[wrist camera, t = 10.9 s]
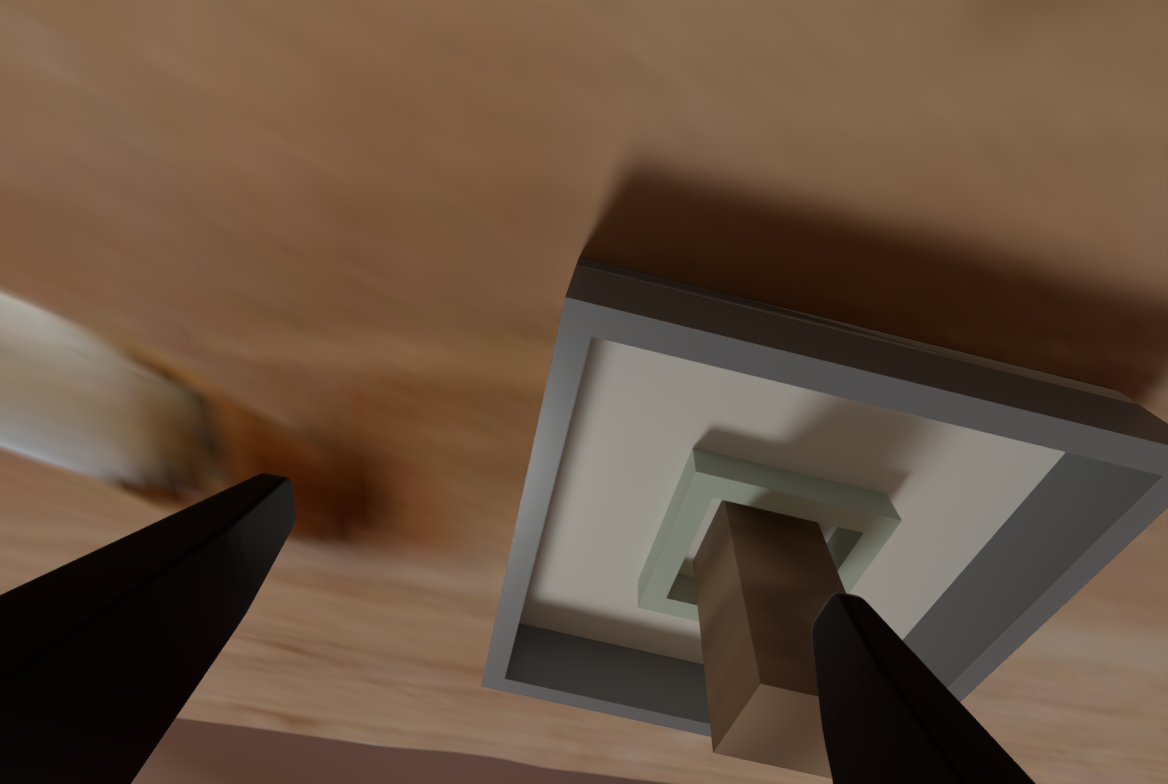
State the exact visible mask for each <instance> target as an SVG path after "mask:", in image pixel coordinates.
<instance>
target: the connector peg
mask: <svg viewBox="0 0 1168 784" xmlns="http://www.w3.org/2000/svg"><path fill="white" fill-rule="evenodd" d="M693 569H694V578H695V588H696V597H697V606H698V616H699V625H700V634H701V644H702V653H703V662H704V672H705V681H706V690H707V700H708V709H709V718H710V728H711V737H712V746H713V753H717V754H722V755H726V756H731V757H735V758H740V759H745V760H749V761H754V762H758V763H763V764H767V765H772V766H777V767H781V768H786V769H790V770H795V771H800V772H804V773H809V774H813V775H818V776H822V777H827V778H832V775H831V771H830V766H829V761H828V757H827V752H826V747H825V742H824V736H823V731H822V723H821V716H820V707H819V698H818V688H817V679H816V670H815V661H814V651H813V642H812V627H813V623H814V621H815V619H816V618H817V616H818V614H819V613H820V611H821V610H822V608H823V607H824V605H825V604H826V602H827V601H828V599H829V598H830V596H831V595H832V594H833V593H835V592H843V593H846V591H845V589H844V586H843V584H842V581H841V579H840V576H839V574H838V571H837V569H836V566H835V564H834V561H833V559H832V556H831V554H830V551H829V549H828V546H827V544H826V541H825V539H824V536H823V534H822V531H821V529H820V526H819V524H818V522H814V521H810V520H806V519H802V518H797V517H793V516H789V515H785V514H780V513H776V512H772V511H768V510H763V509H759V508H755V507H751V506H746V505H742V504H738V503H734V502H729V501H725V500H722V501H721V503H720V505H719V507H718V509H717V511H716V513H715V515H714V518H713V520H712V522H711V524H710V526H709V528H708V530H707V532H706V534H705V536H704V539H703V541H702V543H701V545H700V547H699V549H698V551H697V553H696V555H695V557H694V560H693Z"/></svg>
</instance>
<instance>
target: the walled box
mask: <svg viewBox="0 0 1168 784" xmlns="http://www.w3.org/2000/svg"><path fill="white" fill-rule="evenodd" d="M722 500H725V501H729V502H734V503H738V504H742V505H746V506H751V507H755V508H759V509H763V510H768V511H772V512H776V513H780V514H785V515H789V516H793V517H797V518H802V519H806V520H810V521H814V522H818V524H819V526H820V529H821V531H822V534H823V536H824V539H825V541H826V544H827V546H828V549H829V551H830V554H831V556H832V559H833V561H834V564H835V566H836V569H837V571H838V574H839V576H840V579H841V581H842V584H843V586H844V589H845V591H846V593H848V594H853V595H857V596H860V597H862V598H863V599H864V600H865V601H867V602H868V604H869V605H870V606H871V607H872V608H873V609H874V610H875V611H876V612H877V613H878V614H879V615H880V616H881V618H882V619H883V620H884V621H885V622H886V623H887V624H888V625H889V626H890V627H891V628H892V629H893V631H894V632H895V633H896V634H897V635H898V636H899V637H900V638H901V639H902V640H903V641H904V642H905V643H906V645H907V646H908V647H909V648H910V649H911V650H912V651H913V652H914V653H915V654H916V655H917V656H918V657H919V659H920V660H921V661H922V662H923V663H924V664H925V665H926V666H927V667H928V668H929V669H930V670H931V671H932V673H933V674H934V675H935V676H936V677H937V678H938V679H939V680H940V681H941V682H942V683H943V684H944V685H945V687H946V688H947V689H948V690H949V691H950V692H951V693H952V694H953V695H954V696H955V697H956V698H957V700H958V701H959V702H961V701H962V700H963V699H964V698H965V697H966V696H967V695H968V694H969V693H970V692H971V691H973V690H974V689H975V688H976V687H977V686H978V685H979V684H980V683H981V682H982V681H983V680H984V679H985V678H986V677H987V676H989V675H990V674H991V673H992V672H993V671H994V670H995V669H996V668H997V667H998V666H999V665H1000V664H1001V663H1002V662H1003V661H1005V660H1006V659H1007V658H1008V657H1009V656H1010V655H1011V654H1012V653H1013V652H1014V651H1015V650H1016V649H1017V648H1018V647H1019V646H1021V645H1022V644H1023V643H1024V642H1025V641H1026V640H1027V639H1028V638H1029V637H1030V636H1031V635H1032V634H1033V633H1034V632H1035V631H1036V630H1038V629H1039V628H1040V627H1041V626H1042V625H1043V624H1044V623H1045V622H1046V621H1047V620H1048V619H1049V618H1050V617H1051V616H1052V615H1054V614H1055V613H1056V612H1057V611H1058V610H1059V609H1060V608H1061V607H1062V606H1063V605H1064V604H1065V603H1066V602H1067V601H1068V600H1070V599H1071V598H1072V597H1073V596H1074V595H1075V594H1076V593H1077V592H1078V591H1079V590H1080V589H1081V588H1082V587H1083V586H1084V585H1086V584H1087V583H1088V582H1089V581H1090V580H1091V579H1092V578H1093V577H1094V576H1095V575H1096V574H1097V573H1098V572H1099V571H1100V570H1102V569H1103V568H1104V567H1105V566H1106V565H1107V564H1108V563H1109V562H1110V561H1111V560H1112V559H1113V558H1114V557H1115V556H1116V555H1118V554H1119V553H1120V552H1121V551H1122V550H1123V549H1124V548H1125V547H1126V546H1127V545H1128V544H1129V543H1130V542H1131V541H1132V540H1133V539H1135V538H1136V537H1137V536H1138V535H1139V534H1140V533H1141V532H1142V531H1143V530H1144V529H1145V528H1146V527H1147V526H1148V525H1149V524H1151V523H1152V522H1153V521H1154V520H1155V519H1156V518H1157V517H1158V516H1159V515H1160V514H1161V513H1162V512H1163V511H1164V510H1165V509H1167V508H1168V424H1167V423H1166V422H1164V421H1163V420H1161V419H1160V418H1158V417H1157V416H1155V415H1154V414H1152V413H1151V412H1149V411H1148V410H1146V409H1145V408H1143V407H1142V406H1140V405H1138V404H1137V403H1135V402H1134V401H1132V400H1131V399H1129V398H1128V397H1126V396H1125V395H1123V394H1122V393H1120V392H1119V391H1116V390H1112V389H1108V388H1104V387H1100V386H1096V385H1092V384H1088V383H1084V382H1080V381H1076V380H1072V379H1068V378H1064V377H1060V376H1056V375H1052V374H1048V373H1044V372H1040V371H1036V370H1032V369H1028V368H1024V367H1020V366H1016V365H1012V364H1008V363H1004V362H1000V361H996V360H992V359H988V358H984V357H980V356H976V355H972V354H968V353H964V352H960V351H956V350H952V349H948V348H944V347H940V346H935V345H931V344H927V343H923V342H919V341H915V340H911V339H907V338H903V337H899V336H895V335H891V334H887V333H883V332H879V331H875V330H871V329H867V328H863V327H859V326H855V325H851V324H847V323H843V322H839V321H835V320H831V319H827V318H823V317H819V316H815V315H811V314H807V313H803V312H799V311H795V310H791V309H787V308H783V307H779V306H775V305H771V304H767V303H763V302H759V301H755V300H750V299H746V298H742V297H738V296H734V295H730V294H726V293H722V292H718V291H714V290H710V289H706V288H702V287H698V286H694V285H690V284H686V283H682V282H678V281H674V280H670V279H666V278H662V277H658V276H654V275H650V274H646V273H642V272H638V271H634V270H630V269H626V268H622V267H618V266H614V265H610V264H606V263H602V262H598V261H594V260H590V259H586V258H582V257H579V259H578V262H577V265H576V268H575V270H574V273H573V276H572V279H571V282H570V285H569V288H568V291H567V294H566V296H565V301H564V305H563V310H562V315H561V319H560V324H559V328H558V333H557V338H556V342H555V347H554V352H553V356H552V361H551V365H550V370H549V375H548V379H547V384H546V388H545V393H544V398H543V402H542V407H541V412H540V416H539V421H538V425H537V430H536V435H535V439H534V444H533V449H532V453H531V458H530V462H529V467H528V472H527V476H526V481H525V486H524V490H523V495H522V499H521V504H520V509H519V513H518V518H517V523H516V527H515V532H514V536H513V541H512V546H511V550H510V555H509V559H508V564H507V569H506V573H505V578H504V583H503V587H502V592H501V596H500V601H499V606H498V610H497V615H496V620H495V624H494V629H493V633H492V638H491V643H490V647H489V652H488V657H487V661H486V666H485V670H484V675H483V680H482V684H481V686H483V687H487V688H492V689H497V690H501V691H506V692H510V693H515V694H519V695H524V696H528V697H533V698H538V699H542V700H547V701H551V702H556V703H560V704H565V705H569V706H574V707H578V708H583V709H588V710H592V711H597V712H601V713H606V714H610V715H615V716H619V717H624V718H628V719H633V720H638V721H642V722H647V723H651V724H656V725H660V726H665V727H669V728H674V729H679V730H683V731H688V732H692V733H697V734H701V735H706V736H710V737H711V728H710V718H709V709H708V700H707V690H706V681H705V672H704V662H703V653H702V644H701V634H700V625H699V616H698V606H697V597H696V588H695V578H694V569H693V560H694V557H695V555H696V553H697V551H698V549H699V547H700V545H701V543H702V541H703V539H704V536H705V534H706V532H707V530H708V528H709V526H710V524H711V522H712V520H713V518H714V515H715V513H716V511H717V509H718V507H719V505H720V503H721V501H722Z"/></svg>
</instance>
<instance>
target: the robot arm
mask: <svg viewBox="0 0 1168 784" xmlns="http://www.w3.org/2000/svg"><path fill="white" fill-rule="evenodd" d="M295 518H296V510H295V502H294V495H293V487H292V482H291V480H290V479H289V478H287V477H285V476H280V475H276V474H271V473H261V474H258V475H256V476H254V477H252V478H249V479H247V480H245V481H243V482H241V483H239V484H237V485H234V486H232V487H230V488H228V489H226V490H224V491H222V492H219V493H217V494H215V495H213V496H211V497H209V498H207V499H205V500H202V501H200V502H198V503H196V504H194V505H192V506H190V507H187V508H185V509H183V510H181V511H179V512H177V513H175V514H172V515H170V516H168V517H166V518H164V519H162V520H160V521H157V522H155V523H153V524H151V525H149V526H147V527H145V528H143V529H140V530H138V531H136V532H134V533H132V534H130V535H128V536H125V537H123V538H121V539H119V540H117V541H115V542H113V543H110V544H108V545H106V546H104V547H102V548H100V549H98V550H95V551H93V552H91V553H89V554H87V555H85V556H83V557H80V558H78V559H76V560H74V561H72V562H70V563H68V564H66V565H63V566H61V567H59V568H57V569H55V570H53V571H51V572H48V573H46V574H44V575H42V576H40V577H38V578H36V579H33V580H31V581H29V582H27V583H25V584H23V585H21V586H18V587H16V588H14V589H12V590H10V591H8V592H6V593H4V594H1V595H0V784H131V783H132V781H133V780H134V778H135V777H136V775H137V774H138V772H139V771H140V769H141V768H142V767H143V765H144V764H145V762H146V761H147V759H148V758H149V756H150V755H151V753H152V752H153V750H154V749H155V747H156V746H157V744H158V743H159V741H160V740H161V739H162V737H163V736H164V734H165V733H166V731H167V730H168V728H169V727H170V725H171V724H172V722H173V721H174V719H175V718H176V716H177V715H178V714H179V712H180V711H181V709H182V708H183V706H184V705H185V703H186V702H187V700H188V699H189V697H190V696H191V694H192V693H193V691H194V690H195V689H196V687H197V686H198V684H199V683H200V681H201V680H202V678H203V677H204V675H205V674H206V672H207V671H208V669H209V668H210V666H211V665H212V663H213V662H214V661H215V659H216V658H217V656H218V655H219V653H220V652H221V650H222V649H223V647H224V646H225V644H226V643H227V641H228V640H229V638H230V637H231V636H232V634H233V633H234V631H235V630H236V628H237V627H238V625H239V624H240V622H241V620H242V619H243V617H244V616H245V614H246V613H247V611H248V609H249V607H250V606H251V604H252V602H253V600H254V599H255V597H256V595H257V593H258V591H259V589H260V587H261V586H262V584H263V582H264V580H265V578H266V576H267V574H268V573H269V571H270V569H271V567H272V565H273V563H274V561H275V560H276V558H277V556H278V554H279V552H280V550H281V548H282V547H283V545H284V543H285V541H286V539H287V537H288V535H289V533H290V532H291V530H292V528H293V525H294V522H295ZM812 642H813V651H814V661H815V670H816V679H817V688H818V698H819V707H820V716H821V723H822V731H823V736H824V742H825V747H826V752H827V757H828V761H829V766H830V771H831V775H832V780H833V784H1035V783H1034V781H1033V780H1032V779H1031V778H1030V777H1029V776H1028V775H1027V774H1026V773H1025V772H1024V771H1023V770H1022V768H1021V767H1020V766H1019V765H1018V764H1017V763H1016V762H1015V761H1014V760H1013V759H1012V758H1011V757H1010V756H1009V754H1008V753H1007V752H1006V751H1005V750H1004V749H1003V748H1002V747H1001V746H1000V745H999V744H998V743H997V742H996V740H995V739H994V738H993V737H992V736H991V735H990V734H989V733H988V732H987V731H986V730H985V729H984V728H983V726H982V725H981V724H980V723H979V722H978V721H977V720H976V719H975V718H974V717H973V716H972V715H971V714H970V712H969V711H968V710H967V709H966V708H965V707H964V706H963V705H962V704H961V703H960V702H959V701H958V700H957V698H956V697H955V696H954V695H953V694H952V693H951V692H950V691H949V690H948V689H947V688H946V687H945V685H944V684H943V683H942V682H941V681H940V680H939V679H938V678H937V677H936V676H935V675H934V674H933V673H932V671H931V670H930V669H929V668H928V667H927V666H926V665H925V664H924V663H923V662H922V661H921V660H920V659H919V657H918V656H917V655H916V654H915V653H914V652H913V651H912V650H911V649H910V648H909V647H908V646H907V645H906V643H905V642H904V641H903V640H902V639H901V638H900V637H899V636H898V635H897V634H896V633H895V632H894V631H893V629H892V628H891V627H890V626H889V625H888V624H887V623H886V622H885V621H884V620H883V619H882V618H881V616H880V615H879V614H878V613H877V612H876V611H875V610H874V609H873V608H872V607H871V606H870V605H869V604H868V602H867V601H865V600H864V599H863V598H862V597H860V596H857V595H853V594H848V593H843V592H835V593H833V594H832V595H831V596H830V598H829V599H828V601H827V602H826V604H825V605H824V607H823V608H822V610H821V611H820V613H819V614H818V616H817V618H816V619H815V621H814V623H813V627H812Z"/></svg>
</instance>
